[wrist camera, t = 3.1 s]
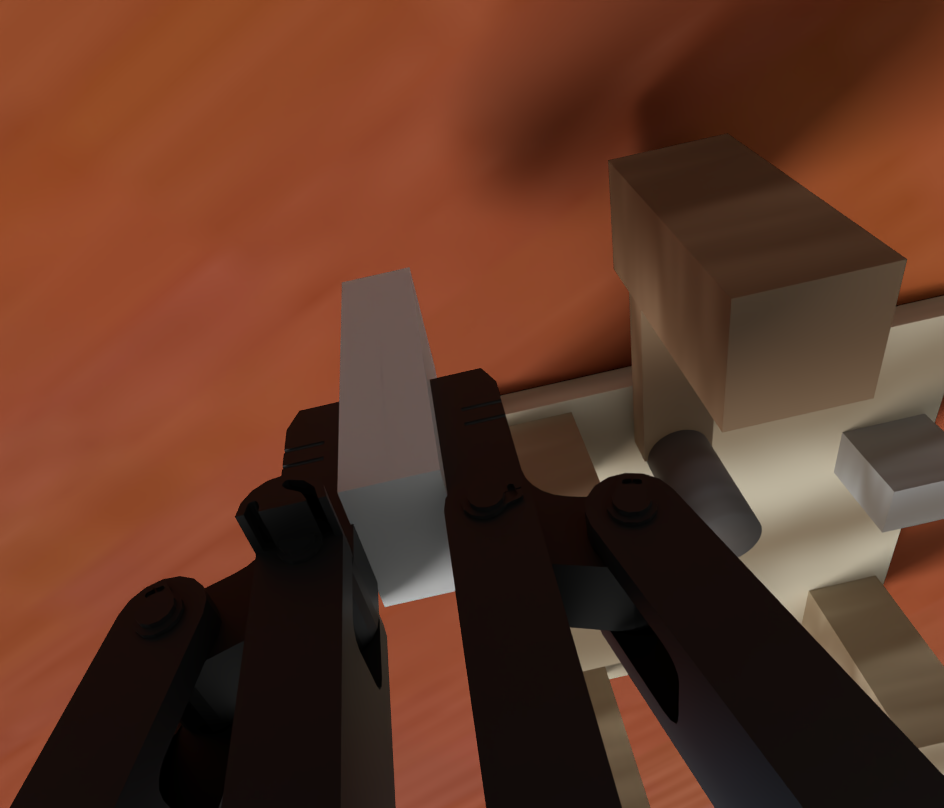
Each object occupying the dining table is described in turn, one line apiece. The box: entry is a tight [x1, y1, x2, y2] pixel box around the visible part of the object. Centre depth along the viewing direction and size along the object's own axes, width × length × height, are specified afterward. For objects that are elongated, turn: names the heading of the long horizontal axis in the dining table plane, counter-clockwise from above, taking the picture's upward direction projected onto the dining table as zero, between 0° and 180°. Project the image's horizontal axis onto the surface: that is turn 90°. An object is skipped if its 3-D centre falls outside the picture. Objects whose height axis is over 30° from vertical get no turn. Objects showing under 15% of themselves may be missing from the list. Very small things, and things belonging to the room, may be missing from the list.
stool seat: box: [500, 296, 944, 808], centre depth 25 cm, size 17×16×8 cm
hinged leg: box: [608, 133, 907, 557], centre depth 18 cm, size 10×3×7 cm, turn 10°
